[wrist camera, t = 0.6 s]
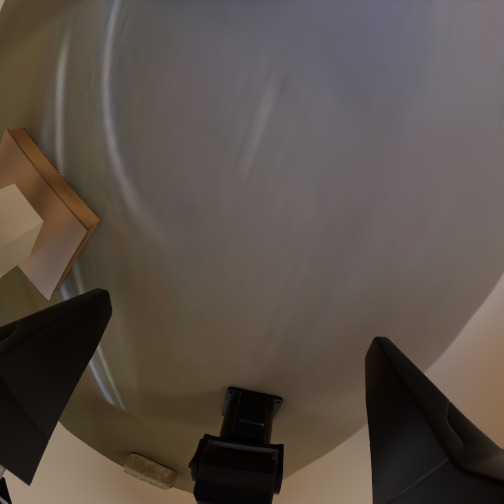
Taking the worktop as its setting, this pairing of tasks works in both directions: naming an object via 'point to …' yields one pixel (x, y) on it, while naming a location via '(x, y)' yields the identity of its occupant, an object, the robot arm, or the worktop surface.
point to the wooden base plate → (46, 211)
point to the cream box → (16, 228)
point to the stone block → (150, 471)
